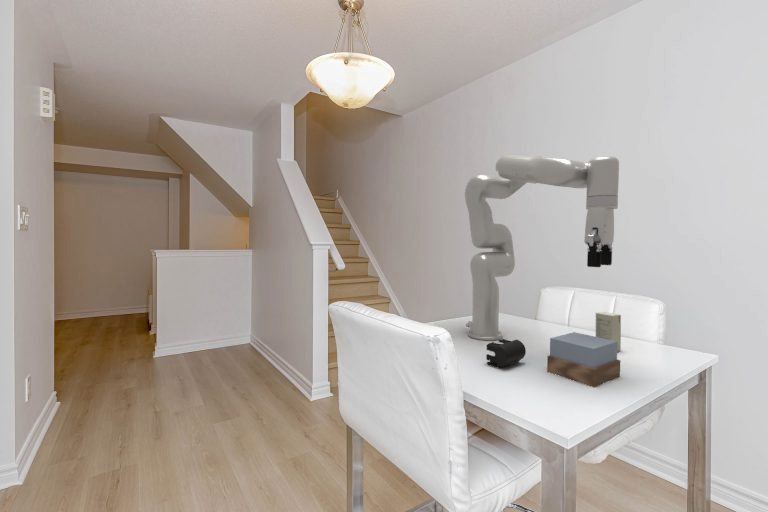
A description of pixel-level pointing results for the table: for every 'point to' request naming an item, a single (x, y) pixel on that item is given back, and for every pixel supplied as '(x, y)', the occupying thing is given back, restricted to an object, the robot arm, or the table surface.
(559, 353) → the slate top block
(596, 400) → the table surface
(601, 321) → the skincare box
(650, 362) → the table surface
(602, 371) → the walnut base block
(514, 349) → the end cap
